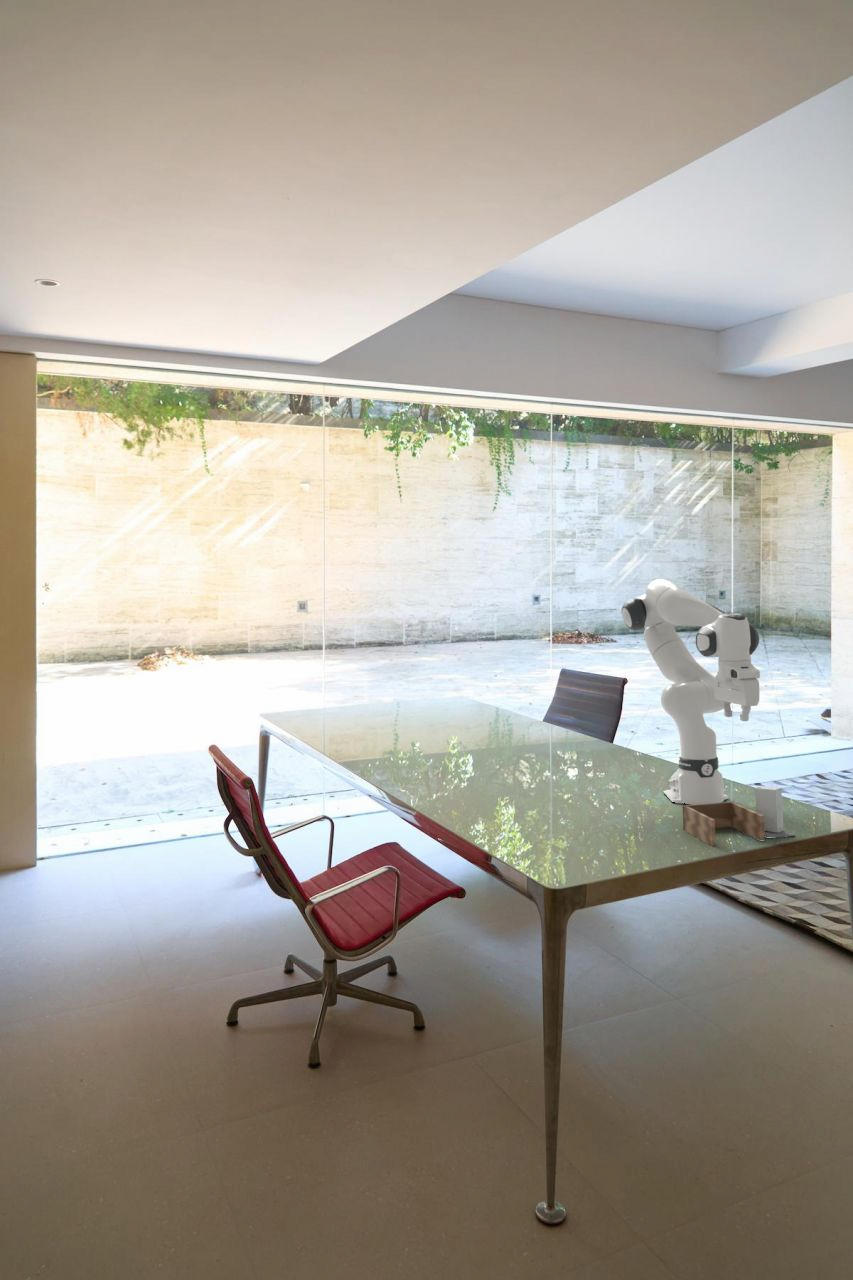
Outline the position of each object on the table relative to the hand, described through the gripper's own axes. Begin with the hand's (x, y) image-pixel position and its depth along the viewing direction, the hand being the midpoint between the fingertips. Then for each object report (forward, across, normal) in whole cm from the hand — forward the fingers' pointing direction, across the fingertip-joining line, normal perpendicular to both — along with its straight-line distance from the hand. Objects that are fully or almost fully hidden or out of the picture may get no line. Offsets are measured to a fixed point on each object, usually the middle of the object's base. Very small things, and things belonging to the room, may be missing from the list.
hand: (736, 718), depth 264 cm
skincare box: (+31, +8, +5) cm, 32 cm away
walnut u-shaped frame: (+31, +7, -8) cm, 33 cm away
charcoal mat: (+31, +8, +5) cm, 32 cm away
